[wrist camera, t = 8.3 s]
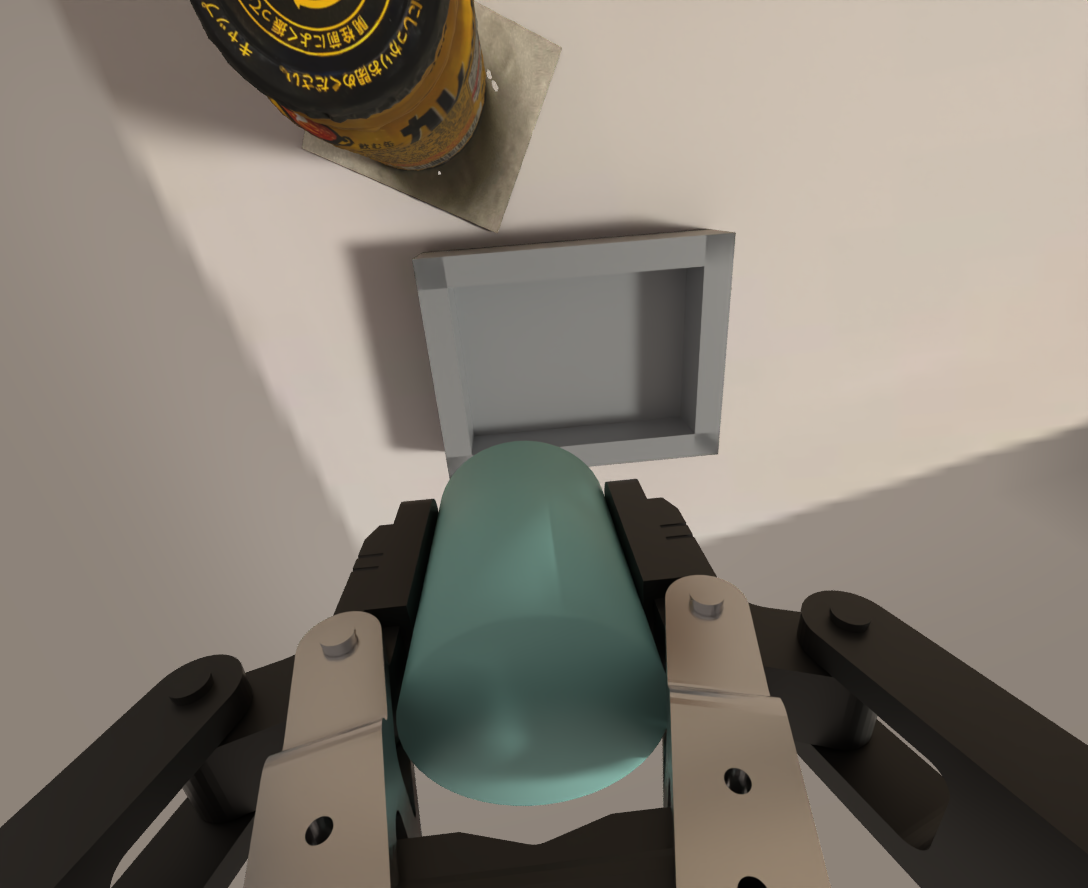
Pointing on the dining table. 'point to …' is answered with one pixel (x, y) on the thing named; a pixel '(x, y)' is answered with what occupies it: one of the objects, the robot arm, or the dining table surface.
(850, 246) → the dining table surface
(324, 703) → the robot arm
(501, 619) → the teal cylinder
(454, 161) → the condiment
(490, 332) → the collection tray
